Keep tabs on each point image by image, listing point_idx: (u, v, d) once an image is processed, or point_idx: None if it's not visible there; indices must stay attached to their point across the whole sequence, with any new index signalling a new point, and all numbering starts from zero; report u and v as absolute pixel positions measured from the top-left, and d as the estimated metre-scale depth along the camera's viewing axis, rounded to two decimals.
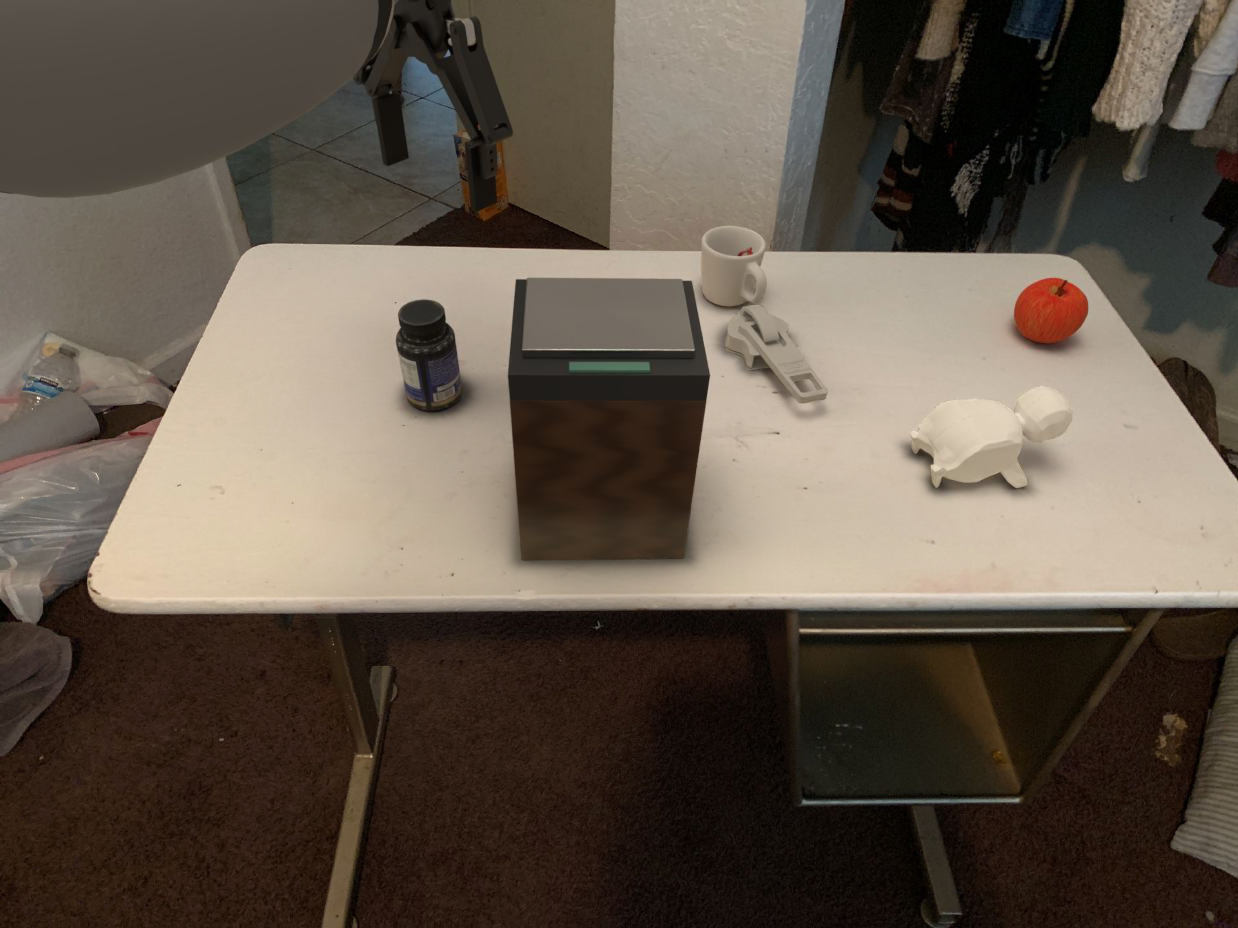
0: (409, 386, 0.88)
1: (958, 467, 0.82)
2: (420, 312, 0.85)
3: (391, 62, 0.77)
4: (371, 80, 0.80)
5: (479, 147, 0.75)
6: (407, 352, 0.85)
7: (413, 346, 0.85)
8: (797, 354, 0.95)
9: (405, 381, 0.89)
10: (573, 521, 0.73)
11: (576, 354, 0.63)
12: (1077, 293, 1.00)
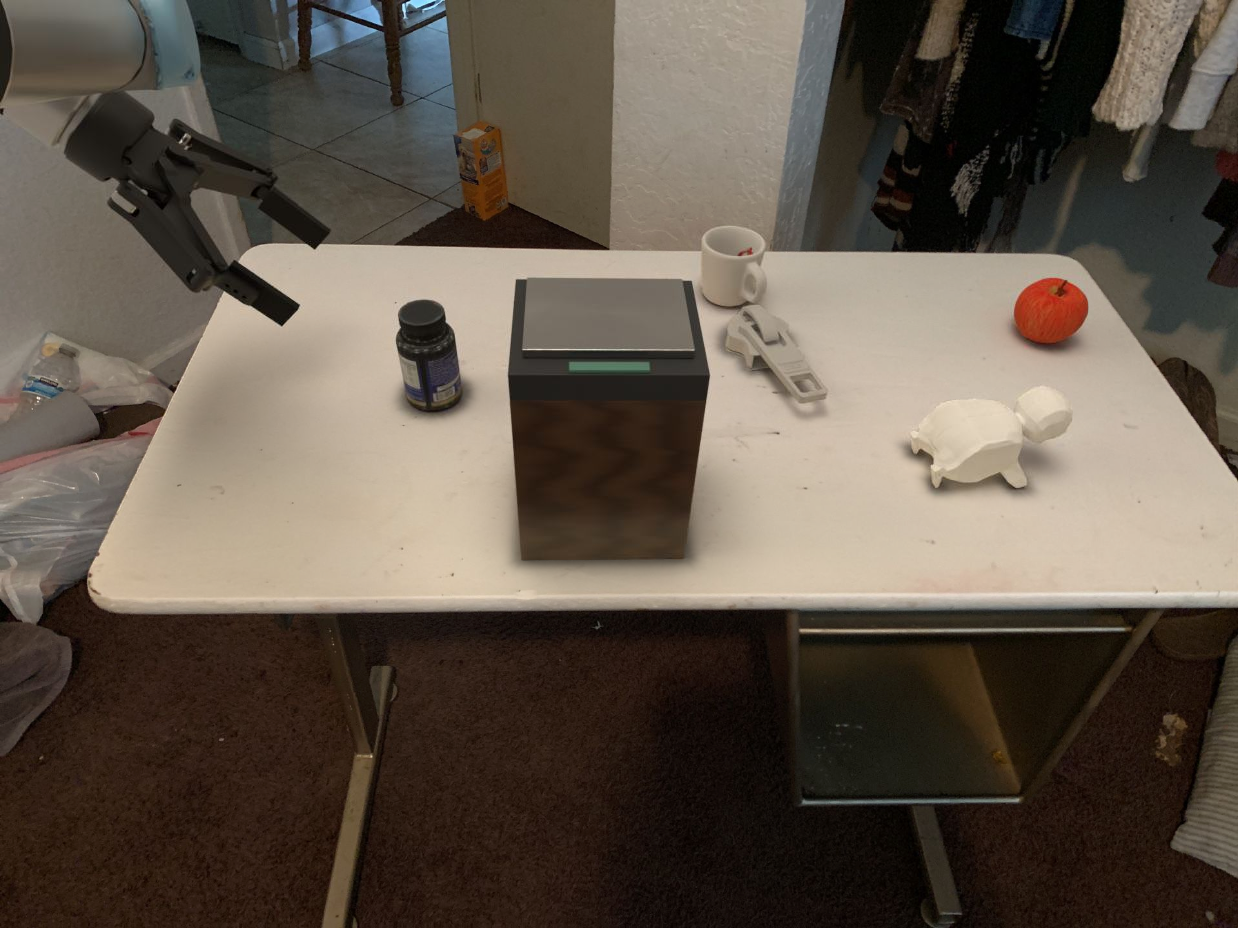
0: (409, 386, 0.88)
1: (958, 467, 0.82)
2: (420, 312, 0.85)
3: None
4: (211, 250, 0.71)
5: None
6: (407, 352, 0.85)
7: (413, 346, 0.85)
8: (797, 354, 0.95)
9: (405, 381, 0.89)
10: (573, 521, 0.73)
11: (576, 354, 0.63)
12: (1077, 293, 1.00)
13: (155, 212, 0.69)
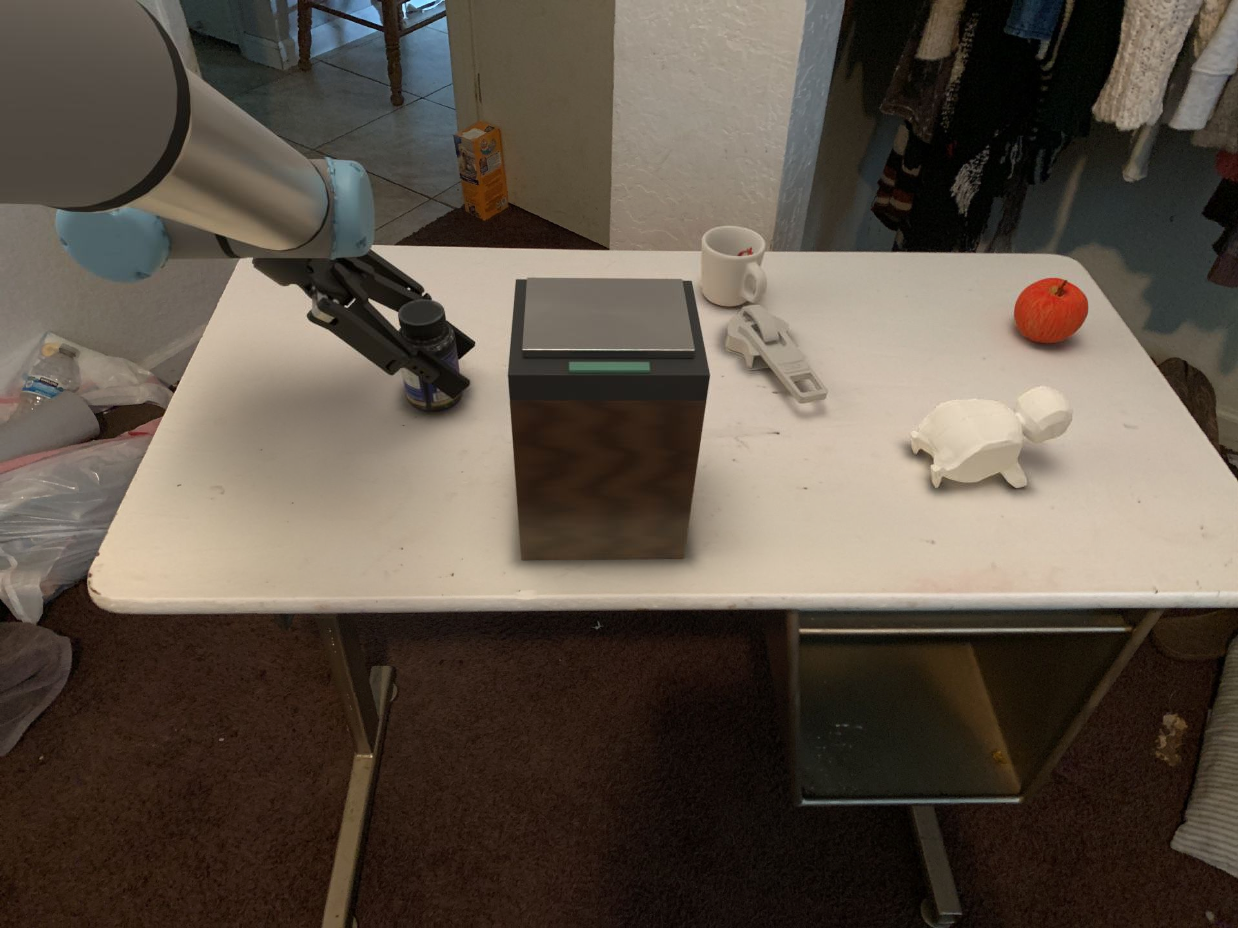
0: (409, 386, 0.88)
1: (958, 467, 0.82)
2: (420, 312, 0.85)
3: None
4: (401, 340, 0.82)
5: None
6: None
7: None
8: (797, 354, 0.95)
9: (405, 381, 0.89)
10: (573, 521, 0.73)
11: (576, 354, 0.63)
12: (1077, 293, 1.00)
13: (352, 318, 0.78)
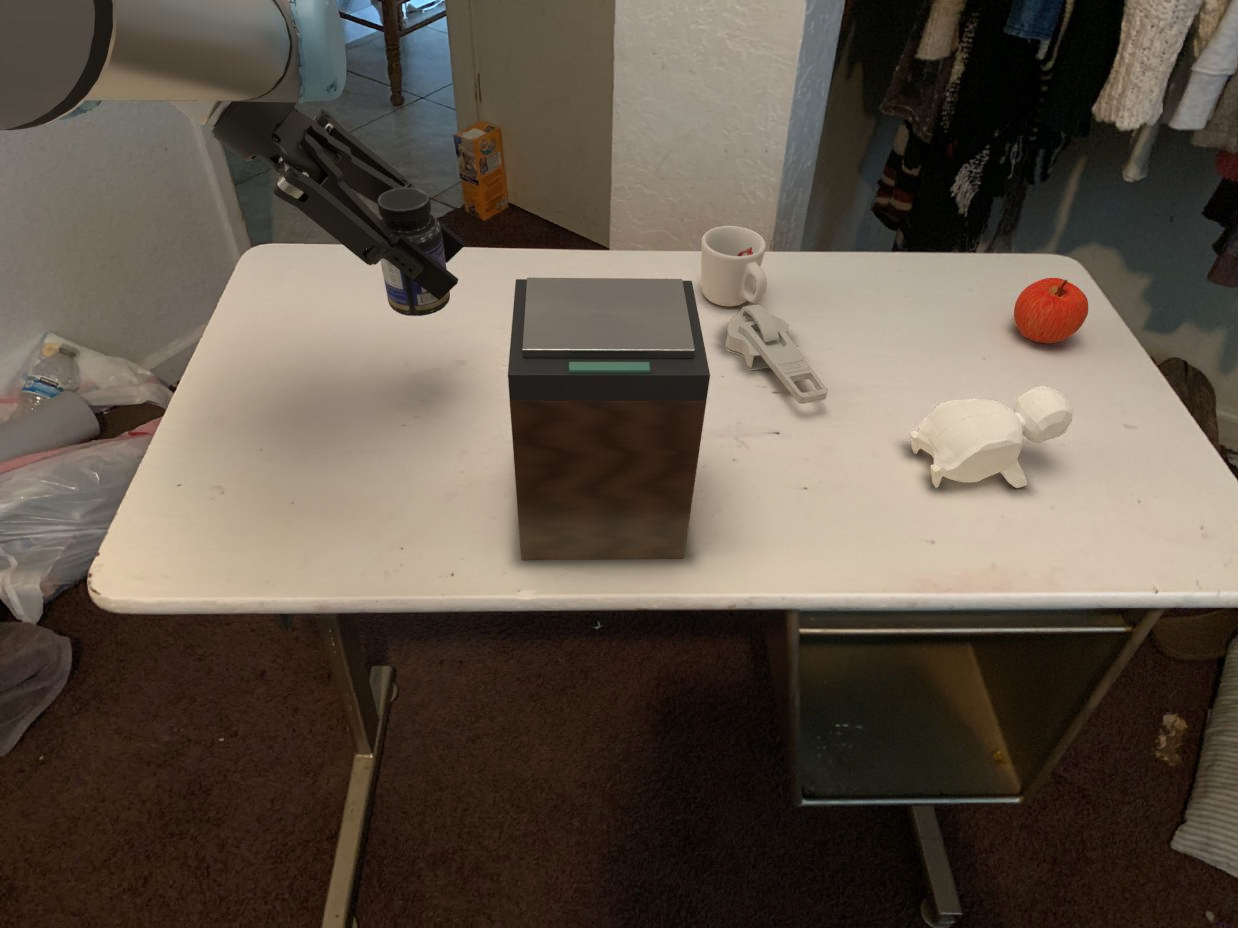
0: (391, 287, 0.80)
1: (958, 467, 0.82)
2: (402, 199, 0.76)
3: None
4: (380, 226, 0.73)
5: None
6: None
7: None
8: (797, 354, 0.95)
9: (386, 281, 0.80)
10: (573, 521, 0.73)
11: (576, 354, 0.63)
12: (1077, 293, 1.00)
13: (324, 194, 0.69)
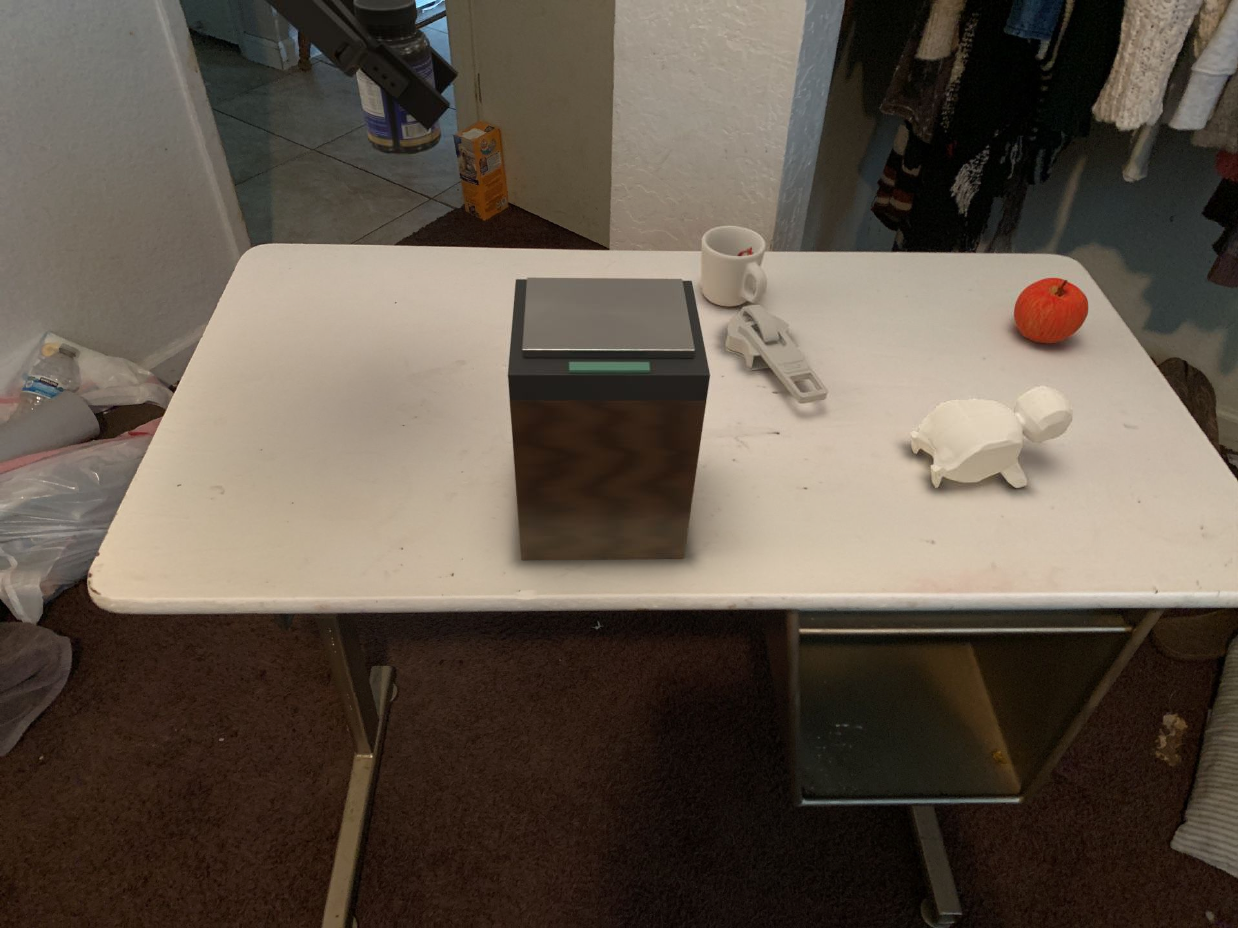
0: (370, 116, 0.67)
1: (958, 467, 0.82)
2: (383, 1, 0.64)
3: None
4: (356, 25, 0.61)
5: None
6: None
7: None
8: (797, 354, 0.95)
9: (365, 110, 0.68)
10: (573, 521, 0.73)
11: (576, 354, 0.63)
12: (1077, 293, 1.00)
13: None
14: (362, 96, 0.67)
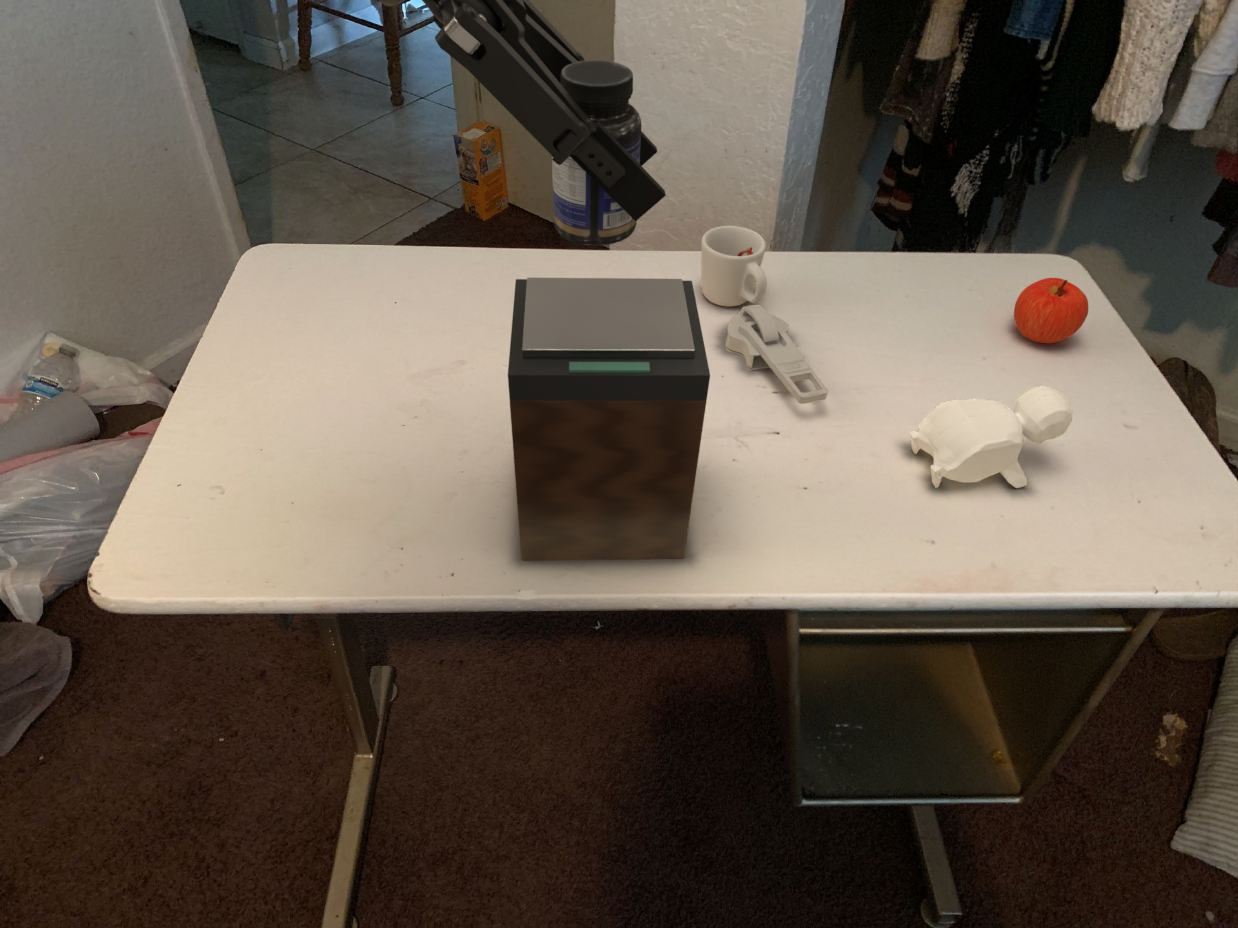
0: (567, 203, 0.57)
1: (958, 467, 0.82)
2: (595, 73, 0.54)
3: None
4: (574, 105, 0.51)
5: None
6: None
7: None
8: (797, 354, 0.95)
9: (560, 196, 0.58)
10: (573, 521, 0.73)
11: (576, 354, 0.63)
12: (1077, 293, 1.00)
13: (508, 49, 0.47)
14: (558, 180, 0.57)
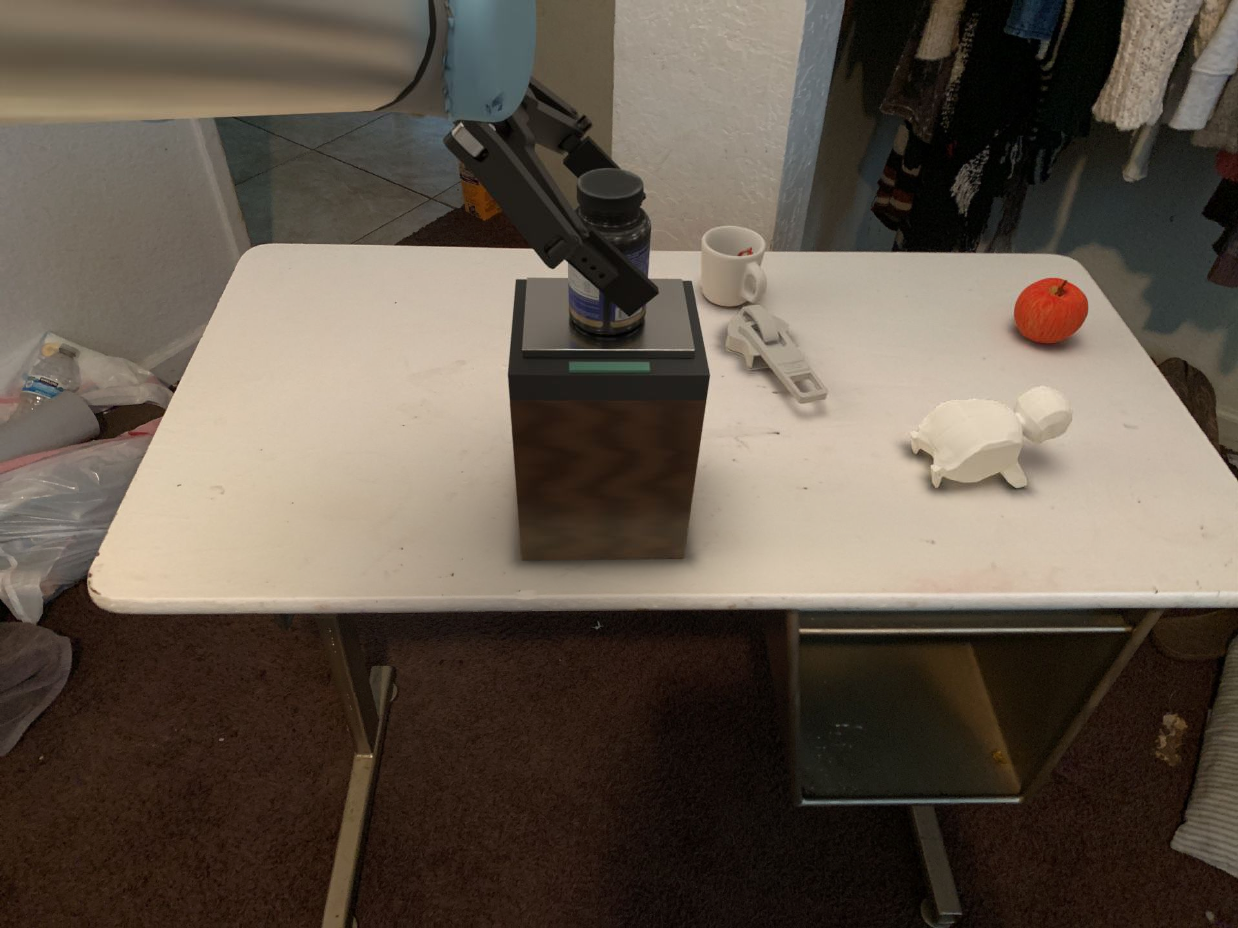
0: (581, 297, 0.62)
1: (958, 467, 0.82)
2: (609, 183, 0.58)
3: None
4: (569, 211, 0.52)
5: None
6: None
7: None
8: (797, 354, 0.95)
9: (575, 290, 0.62)
10: (573, 521, 0.73)
11: (576, 354, 0.63)
12: (1077, 293, 1.00)
13: (510, 155, 0.49)
14: (574, 277, 0.61)
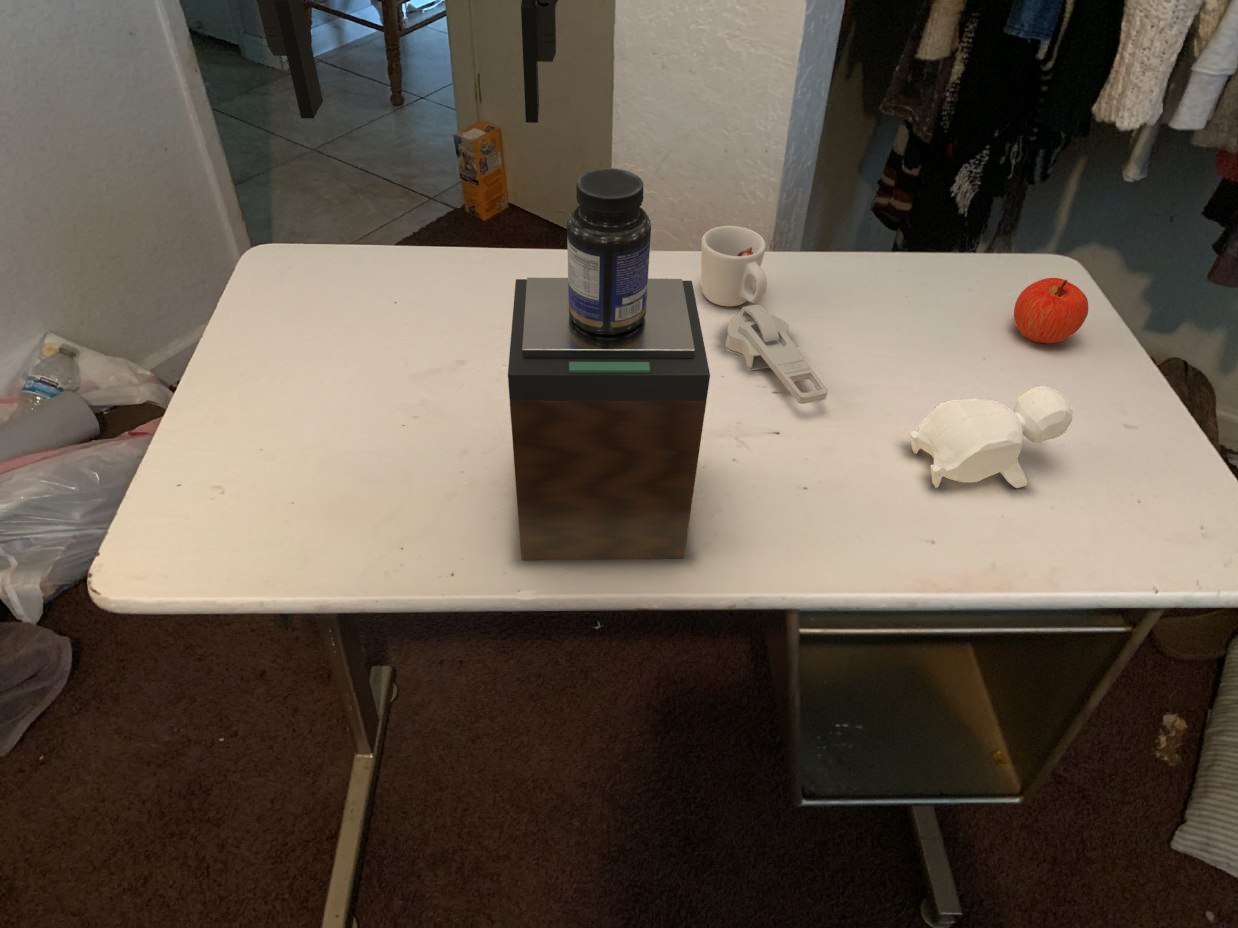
0: (581, 297, 0.62)
1: (958, 467, 0.82)
2: (609, 182, 0.58)
3: None
4: None
5: (542, 9, 0.48)
6: (589, 241, 0.58)
7: (598, 232, 0.58)
8: (797, 354, 0.95)
9: (575, 290, 0.62)
10: (573, 521, 0.73)
11: (576, 354, 0.63)
12: (1077, 293, 1.00)
13: None
14: (574, 277, 0.61)
